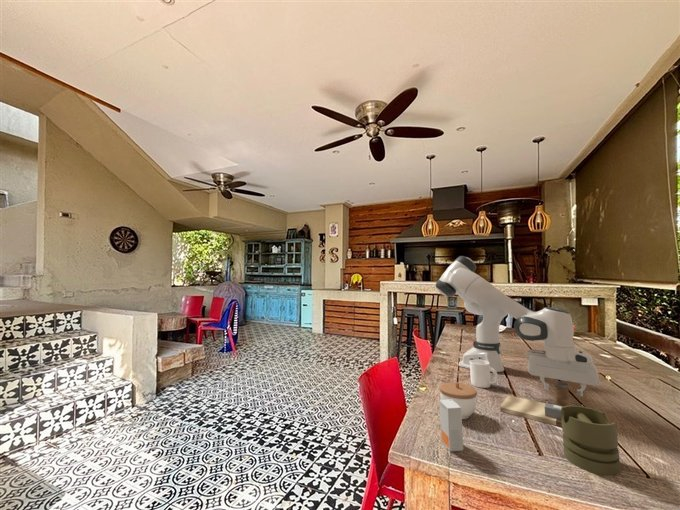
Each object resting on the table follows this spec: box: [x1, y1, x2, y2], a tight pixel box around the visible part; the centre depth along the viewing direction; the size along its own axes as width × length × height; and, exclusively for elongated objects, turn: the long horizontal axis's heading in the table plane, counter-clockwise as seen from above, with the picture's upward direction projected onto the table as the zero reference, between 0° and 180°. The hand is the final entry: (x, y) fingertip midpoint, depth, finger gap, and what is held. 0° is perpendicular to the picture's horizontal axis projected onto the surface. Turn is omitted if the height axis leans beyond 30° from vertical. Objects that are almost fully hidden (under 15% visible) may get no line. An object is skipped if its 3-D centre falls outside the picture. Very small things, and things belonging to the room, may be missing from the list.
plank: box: [499, 395, 562, 428], centre depth 103 cm, size 24×14×2 cm, turn 49°
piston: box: [561, 405, 621, 477], centre depth 77 cm, size 11×12×11 cm
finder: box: [545, 402, 562, 420], centre depth 98 cm, size 6×4×3 cm, turn 49°
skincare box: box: [438, 399, 464, 453], centre depth 85 cm, size 6×4×12 cm
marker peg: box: [554, 380, 570, 407], centre depth 102 cm, size 4×4×10 cm
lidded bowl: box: [438, 381, 478, 420], centre depth 104 cm, size 13×13×11 cm
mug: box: [469, 359, 499, 389], centre depth 130 cm, size 12×8×10 cm
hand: (562, 392), depth 103 cm, fingers open, 8 cm apart
